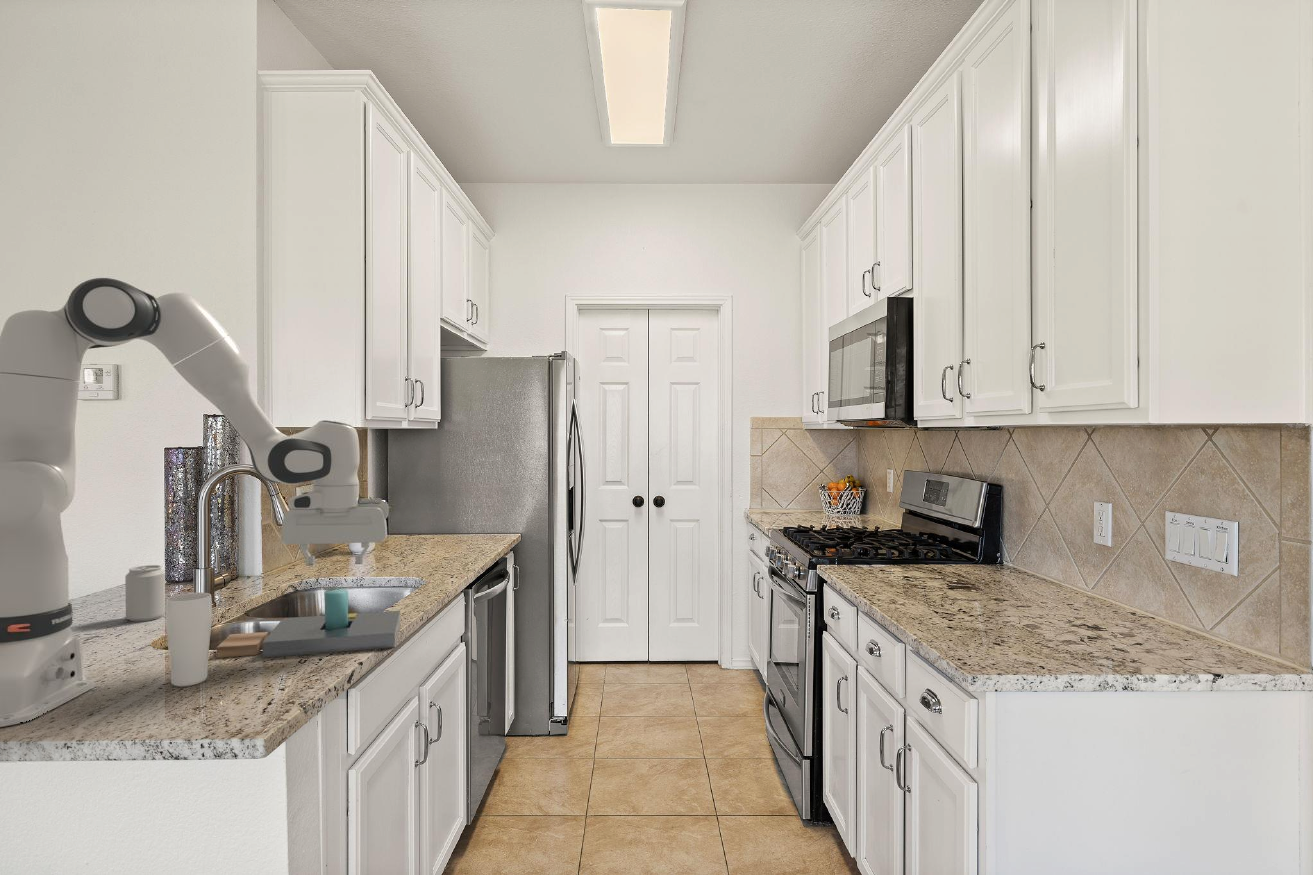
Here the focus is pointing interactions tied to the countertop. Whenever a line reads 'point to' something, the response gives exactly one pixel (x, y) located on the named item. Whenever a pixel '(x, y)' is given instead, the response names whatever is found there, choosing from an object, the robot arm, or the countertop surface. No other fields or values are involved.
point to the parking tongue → (241, 644)
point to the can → (145, 593)
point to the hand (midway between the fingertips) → (335, 564)
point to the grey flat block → (332, 634)
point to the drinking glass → (188, 637)
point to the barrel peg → (336, 609)
